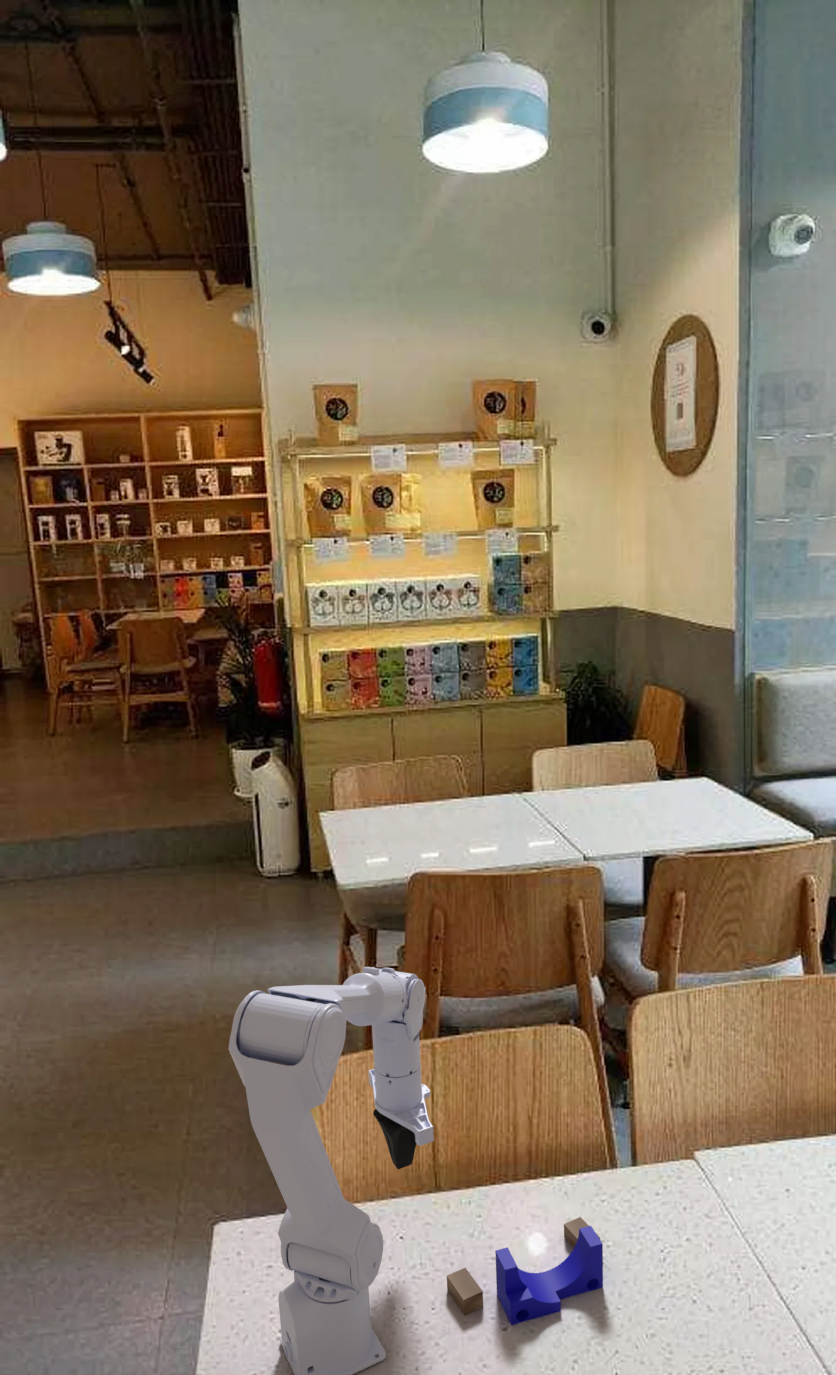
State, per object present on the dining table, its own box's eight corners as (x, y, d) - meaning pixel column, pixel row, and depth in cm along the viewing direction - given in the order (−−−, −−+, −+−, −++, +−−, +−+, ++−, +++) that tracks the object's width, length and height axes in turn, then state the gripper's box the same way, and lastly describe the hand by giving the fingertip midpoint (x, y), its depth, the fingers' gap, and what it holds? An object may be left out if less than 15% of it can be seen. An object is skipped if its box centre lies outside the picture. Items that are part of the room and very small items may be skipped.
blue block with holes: (511, 1327, 106) (509, 1279, 104) (496, 1296, 110) (495, 1250, 109) (609, 1299, 109) (608, 1253, 108) (591, 1269, 113) (590, 1225, 112)
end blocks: (464, 1315, 107) (463, 1300, 107) (447, 1290, 111) (446, 1275, 110) (600, 1251, 115) (600, 1237, 115) (580, 1230, 119) (580, 1216, 119)
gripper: (454, 1084, 112) (458, 1187, 114) (401, 1028, 124) (406, 1122, 127) (400, 1103, 109) (406, 1208, 111) (351, 1043, 121) (357, 1139, 124)
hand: (402, 1163), depth 119 cm, fingers closed
